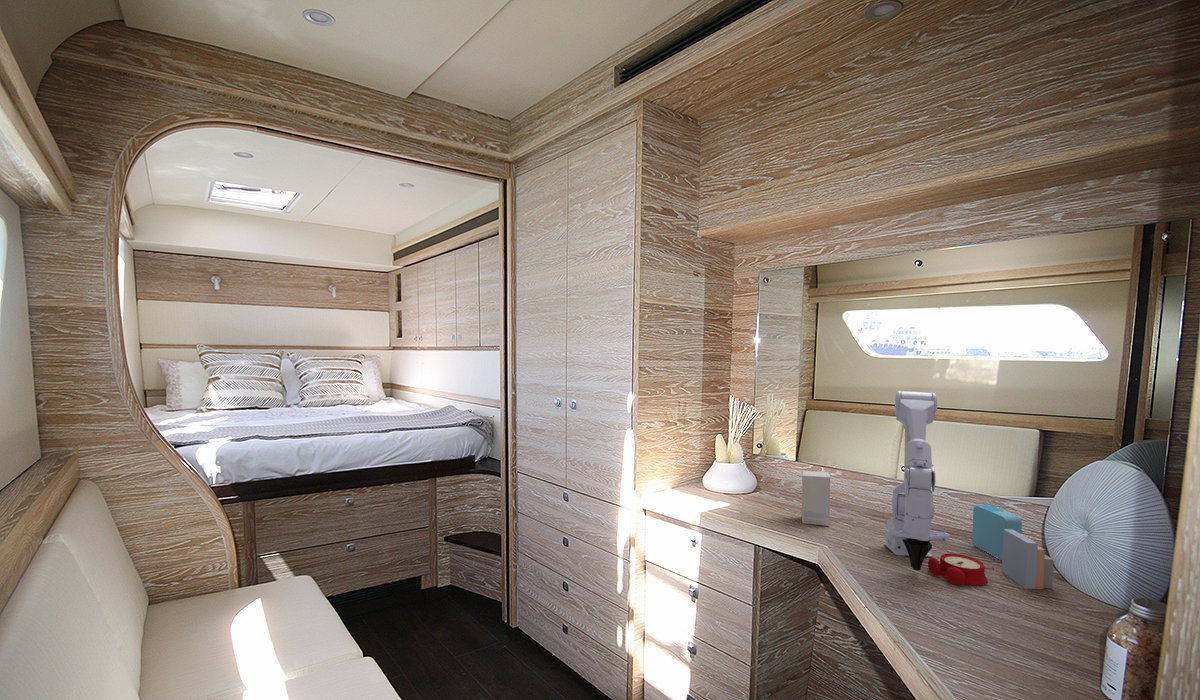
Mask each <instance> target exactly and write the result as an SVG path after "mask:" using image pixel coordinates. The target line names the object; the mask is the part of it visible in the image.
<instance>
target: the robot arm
mask: <svg viewBox="0 0 1200 700" xmlns="http://www.w3.org/2000/svg"><path fill="white" fill-rule="evenodd" d="M894 402H895V403H894V405H895V407H894V408H895V409H894V411H895V412H894V413H895V419H896V421H898V422H900V423H902V427H903V429H904V459H903V460H904V463H903V464H904V465H903V466H904V467H903V469H904V470H903V481H902V482H901V483H899V484H897V485H895V486H894V488H892V496H891V514H892V515H893V516H894V517H889V518H887V520H886V524H885V529H884V537H885V540H884V541H885V542H884V543H883V544H884V545H885V547H887V548H888V549H889V550H890V551H891V552H892V553H893V554H894V555H895V556H904V557H906V556H907V557H909V561H910V567H911V568H912V569H913V570H914V571H921V569H922V566H923V563H924V561H925V558H933V555H932V554H931V553H930V551H931V550H932V548H933V544H932V543H931V542H944V543H947V544H949V543H951V542H950V541H951V534H949V533H947V532H945V531H943V532H942V531H935V530H932V520H933V519H934V517H935V516H934V514H935V502H934V494H933V493H934V492H935V488H936V481H937V480H936V477H937V476H936V471H935V467H934V464H933V460H932V458H933V457H932V446H931V444H930V443H928V442H927V441H926V438H927V437H926V436H927V425H930V424H933V422H934V420H935V419H936V418H935V417H936V414H937V411H938V397H937V394H936V393H935V392H923V391H921V392H920V391H919V392H918V391H907V390H906V391H904V390H897V391H896V392H895V398H894Z"/></svg>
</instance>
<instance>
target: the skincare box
mask: <svg viewBox="0 0 1200 700" xmlns="http://www.w3.org/2000/svg"><path fill="white" fill-rule="evenodd" d="M801 472H802V473H801V522H802V524H807V525H816V526H825V527H830V522H831V521H830V518H831V515H830V514H831V512H830V511H831V508H830V505H831V504H830V503H831V497H830V495H831V475H830V473H829V472H828V471H814V470H801Z"/></svg>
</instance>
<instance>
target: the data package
mask: <svg viewBox="0 0 1200 700" xmlns="http://www.w3.org/2000/svg"><path fill="white" fill-rule="evenodd" d="M971 529H972V531H971V532H972V533H971V541H972V544H973V546H974V545H975V546H976V547H975V546H974V547H975V548H977V547H978V548H977V549H979V548H980V549H979V550H981V549H982V550H984V551H986V552H987V554H988V553H989V554H988V555H990V554H991V555H990V556H992V557H993V556H994V557H993V558H995V557H996V558H995V559H997V560H1000V561H1001V560H1002V556H1003V535H1004V529H1010V530H1015V531H1016V532H1018V533H1020V534H1022V531H1023V522H1022V519H1021V518H1020V517H1019V516H1018V515H1015V514H1014V513H1011V512H1009V511H1006V510H1004V509H1001V508H999V507H997V506H994V505H992V504H975V505H974V506H973V510H972V528H971ZM1022 535H1023V534H1022ZM982 550H981V551H982ZM984 551H983V552H984ZM986 552H985V553H986Z"/></svg>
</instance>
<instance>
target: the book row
mask: <svg viewBox="0 0 1200 700" xmlns="http://www.w3.org/2000/svg"><path fill="white" fill-rule="evenodd" d="M1001 573H1003V574H1004V575H1005V576H1007V577H1008V578H1010V579H1011V580H1013V581H1014V582H1015V583H1017V584H1018V585H1020V586H1021V587H1023V588H1024V589H1027V590H1044V589H1053V577H1054V574H1053V573H1054V558H1052V557H1050V556H1048V555H1046V549H1045V548H1042V547H1041V546H1039V543H1038V542H1035V541H1034V540H1032V539H1030V538H1029V537H1027V536H1025V535H1024V534H1020V533H1018V532H1016V531H1015V530H1010V529H1004V535H1003V556H1002V561H1001Z"/></svg>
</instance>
